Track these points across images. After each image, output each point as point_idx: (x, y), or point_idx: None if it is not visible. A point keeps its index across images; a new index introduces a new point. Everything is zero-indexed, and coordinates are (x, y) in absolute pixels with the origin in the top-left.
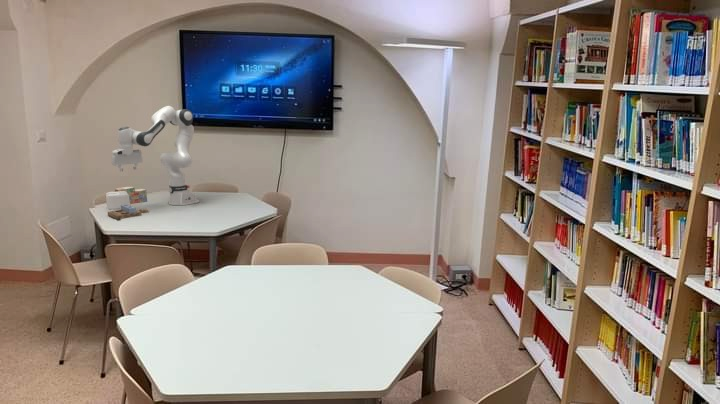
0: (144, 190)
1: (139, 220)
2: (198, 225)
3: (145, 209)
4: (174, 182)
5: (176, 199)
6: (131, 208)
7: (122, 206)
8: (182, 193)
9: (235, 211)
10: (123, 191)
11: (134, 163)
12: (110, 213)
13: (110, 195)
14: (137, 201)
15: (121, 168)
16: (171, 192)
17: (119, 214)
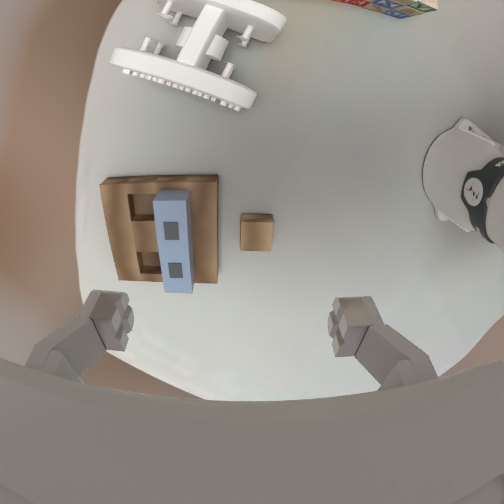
0: (427, 6)
1: (188, 310)
2: None
3: (263, 237)
4: (499, 241)
5: (445, 204)
6: (174, 292)
7: (155, 220)
8: (473, 230)
9: (425, 352)
10: (259, 11)
11: (398, 380)
12: (105, 215)
13: (129, 69)
14: (355, 1)
15: (101, 354)
16: (463, 195)
17: (130, 264)
